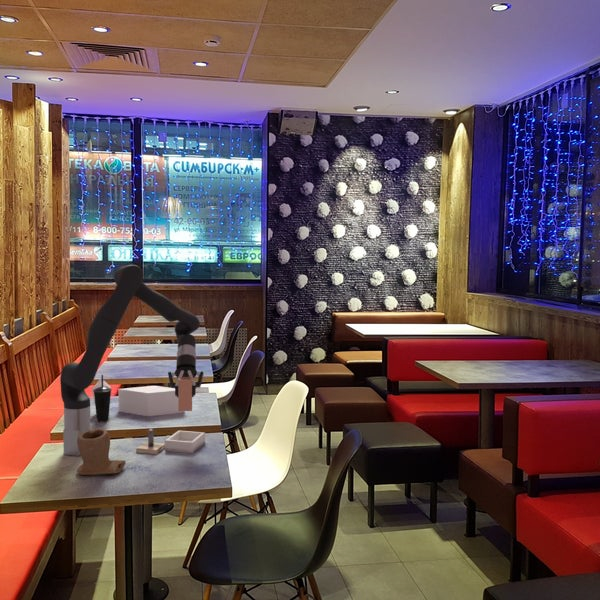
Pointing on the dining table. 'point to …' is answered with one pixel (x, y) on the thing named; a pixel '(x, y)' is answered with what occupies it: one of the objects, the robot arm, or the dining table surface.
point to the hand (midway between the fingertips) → (185, 396)
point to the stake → (150, 438)
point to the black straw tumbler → (99, 384)
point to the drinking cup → (102, 402)
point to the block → (148, 400)
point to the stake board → (150, 448)
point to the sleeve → (185, 394)
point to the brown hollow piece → (97, 454)
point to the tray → (185, 441)
